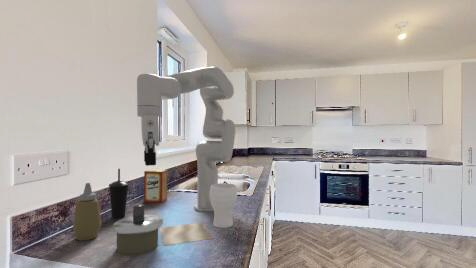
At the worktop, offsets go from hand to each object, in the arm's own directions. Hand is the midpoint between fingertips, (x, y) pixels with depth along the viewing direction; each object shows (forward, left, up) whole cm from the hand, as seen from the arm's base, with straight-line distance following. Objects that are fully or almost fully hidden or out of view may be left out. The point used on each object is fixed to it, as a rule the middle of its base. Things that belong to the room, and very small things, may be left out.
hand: (149, 163), depth 84 cm
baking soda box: (-5, -49, -25) cm, 55 cm away
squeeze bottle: (+19, -7, -25) cm, 32 cm away
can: (+3, +7, -25) cm, 26 cm away
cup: (-27, -3, -25) cm, 37 cm away
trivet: (-12, +1, -25) cm, 27 cm away
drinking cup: (+11, -27, -25) cm, 38 cm away
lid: (+3, +7, -18) cm, 20 cm away
